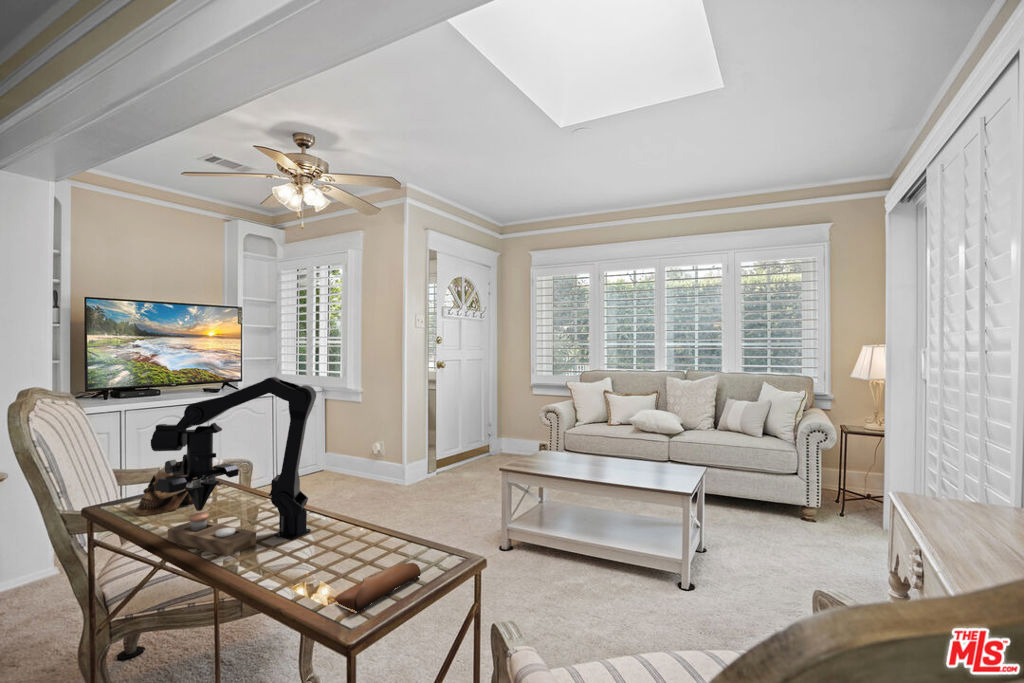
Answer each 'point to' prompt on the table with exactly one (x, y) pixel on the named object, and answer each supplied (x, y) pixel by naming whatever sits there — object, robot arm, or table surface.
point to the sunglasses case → (378, 586)
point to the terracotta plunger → (198, 521)
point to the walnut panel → (212, 538)
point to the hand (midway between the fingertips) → (199, 510)
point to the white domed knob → (225, 532)
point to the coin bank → (161, 498)
